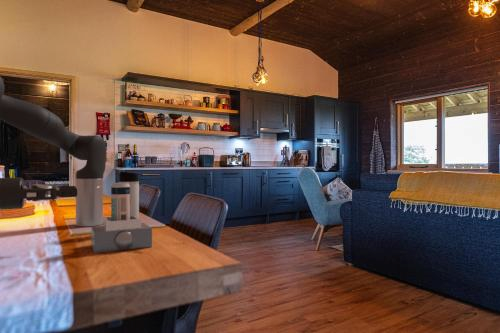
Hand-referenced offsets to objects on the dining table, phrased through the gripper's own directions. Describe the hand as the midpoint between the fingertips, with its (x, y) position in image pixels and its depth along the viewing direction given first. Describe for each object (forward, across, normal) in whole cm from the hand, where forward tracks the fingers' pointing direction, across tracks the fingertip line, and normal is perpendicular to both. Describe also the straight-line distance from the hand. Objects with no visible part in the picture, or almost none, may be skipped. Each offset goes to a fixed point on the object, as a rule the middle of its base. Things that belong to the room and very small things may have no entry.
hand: (76, 191), depth 86 cm
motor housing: (+11, -2, +15) cm, 19 cm away
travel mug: (+16, +18, +16) cm, 29 cm away
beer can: (+10, -2, +10) cm, 15 cm away
